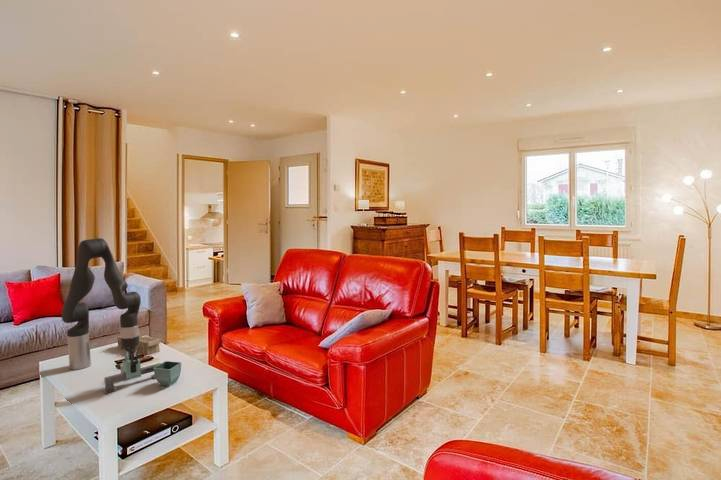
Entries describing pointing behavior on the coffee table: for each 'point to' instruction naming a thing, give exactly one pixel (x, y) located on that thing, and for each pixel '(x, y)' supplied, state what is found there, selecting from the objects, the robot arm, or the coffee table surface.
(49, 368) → the coffee table surface
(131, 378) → the cabinet
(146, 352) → the block tower
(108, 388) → the handrail
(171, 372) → the flower pot
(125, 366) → the carriage
